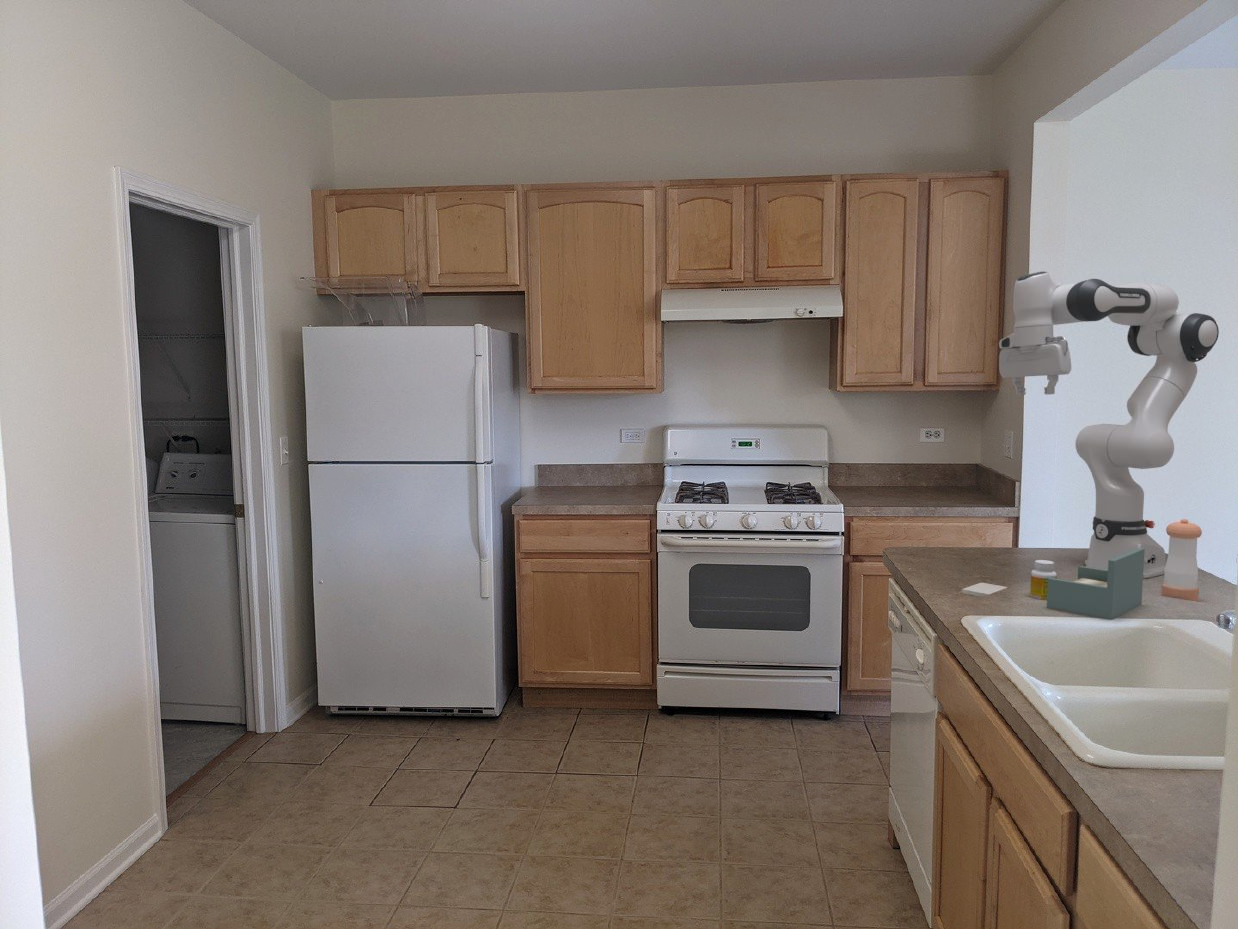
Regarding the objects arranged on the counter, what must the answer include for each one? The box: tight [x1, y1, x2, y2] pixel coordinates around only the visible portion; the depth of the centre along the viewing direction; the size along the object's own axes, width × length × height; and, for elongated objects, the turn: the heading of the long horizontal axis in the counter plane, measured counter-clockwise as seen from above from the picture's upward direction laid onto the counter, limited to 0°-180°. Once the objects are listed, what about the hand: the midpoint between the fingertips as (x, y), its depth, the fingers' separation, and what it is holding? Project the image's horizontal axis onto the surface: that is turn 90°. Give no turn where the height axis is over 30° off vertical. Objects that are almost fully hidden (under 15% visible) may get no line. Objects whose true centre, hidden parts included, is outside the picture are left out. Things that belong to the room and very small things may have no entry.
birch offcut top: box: [1073, 578, 1107, 587], centre depth 196 cm, size 9×11×2 cm
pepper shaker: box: [1161, 518, 1203, 603], centre depth 205 cm, size 7×7×19 cm
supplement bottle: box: [1029, 559, 1058, 601], centre depth 204 cm, size 5×5×10 cm
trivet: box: [961, 582, 1008, 598], centre depth 213 cm, size 10×10×1 cm
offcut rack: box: [1046, 548, 1145, 621], centre depth 196 cm, size 13×18×14 cm
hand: (1034, 394), depth 220 cm, fingers open, 8 cm apart
